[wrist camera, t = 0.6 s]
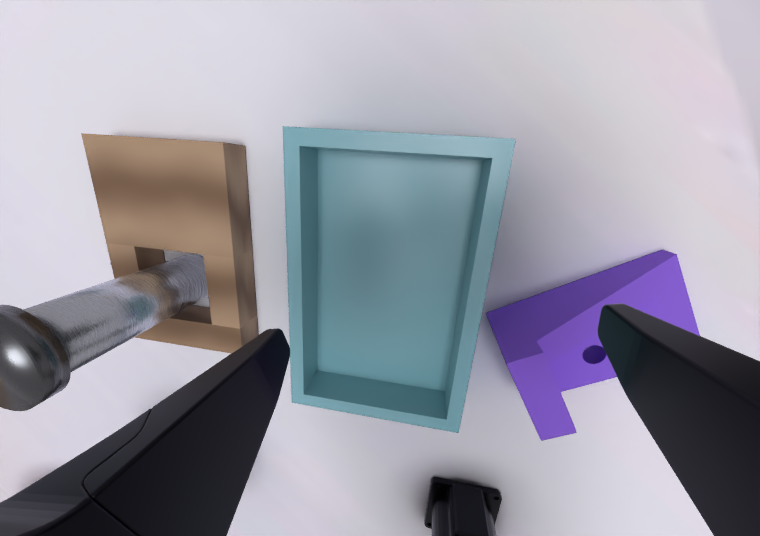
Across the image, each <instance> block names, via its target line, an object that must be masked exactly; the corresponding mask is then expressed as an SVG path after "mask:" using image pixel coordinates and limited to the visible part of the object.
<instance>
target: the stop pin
mask: <svg viewBox="0 0 760 536" xmlns="http://www.w3.org/2000/svg"><path fill="white" fill-rule="evenodd" d="M206 297H208V289H207V281H206V273H205V265H204V258H203V257H201V256H199V255H195V254H189V255H185V256H182V257H179V258H176V259H173V260H170V261H167V262H164V263H161V264H158V265H155V266H152V267H149V268H146V269H143V270H140V271H137V272H134V273H131V274H128V275H125V276H122V277H119V278H116V279H113V280H110V281H107V282H104V283H101V284H98V285H95V286H92V287H89V288H86V289H83V290H80V291H77V292H74V293H71V294H69V295H66V296H63V297H60V298H57V299H54V300H51V301H48V302H45V303H42V304H39V305H36V306H33V307H30V308H27V309H24V310H22V309H20V308H17V307H14V306H9V305H0V407H2V408H5V409H8V410H13V411H25V410H29V409H31V408H33V407H34V406H36V405H38V404H39V403H41V402H43V401H45V400H46V399H48V398H50V397H51V396H53V395H55V394H56V393H58V392H60V391H62V390H63V389H64V388H65V387H66V386H67V384H68V382H69V380H70V372H72V371H74V370H76V369H77V368H79V367H81V366H83V365H85V364H87V363H88V362H90V361H92V360H94V359H96V358H97V357H99V356H101V355H103V354H105V353H106V352H108V351H110V350H112V349H114V348H115V347H117V346H119V345H121V344H123V343H125V342H126V341H128V340H130V339H132V338H134V337H135V336H137V335H139V334H141V333H143V332H144V331H146V330H148V329H150V328H152V327H153V326H155V325H157V324H159V323H161V322H162V321H164V320H166V319H168V318H170V317H172V316H173V315H175V314H177V313H179V312H181V311H182V310H184V309H186V308H188V307H190V306H191V305H193V304H195V303H197V302H199V301H200V300H202V299H204V298H206Z"/></svg>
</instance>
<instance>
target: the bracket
mask: <svg viewBox="0 0 760 536" xmlns="http://www.w3.org/2000/svg"><path fill="white" fill-rule="evenodd" d="M619 303H622V304H626V305H628V306H630V307H633V308H635V309H637V310H640V311H642V312H645V313H647V314H649V315H652V316H654V317H656V318H659V319H661V320H663V321H666V322H668V323H670V324H673V325H675V326H677V327H680V328H682V329H685V330H687V331H689V332H692V333H694V334H696V335H699V331H698V328H697V324H696V321H695V317H694V314H693V310H692V307H691V303H690V300H689V296H688V293H687V289H686V286H685V282H684V279H683V275H682V272H681V268H680V265H679V261H678V258H677V254H674V253H671V252H668V251H665V250H660V251H657V252H655V253H652V254H649V255H646V256H643V257H641V258H638V259H635V260H632V261H629V262H627V263H624V264H621V265H618V266H616V267H613V268H610V269H607V270H604V271H602V272H599V273H596V274H593V275H591V276H588V277H585V278H582V279H579V280H577V281H574V282H571V283H568V284H565V285H563V286H560V287H557V288H554V289H552V290H549V291H546V292H543V293H540V294H538V295H535V296H532V297H529V298H527V299H524V300H521V301H518V302H515V303H513V304H510V305H507V306H504V307H501V308H499V309H496V310H493V311H490V312H488V313H486V314H487V317H488V319H489V322H490V324H491V327H492V329H493V332H494V334H495V337H496V339H497V342H498V344H499V347H500V349H501V352H502V354H503V357H504V359H505V362H506V364H507V367H508V369H509V371H510V373H511V375H512V378H513V380H514V382H515V384H516V386H517V389H518V391H519V393H520V395H521V397H522V400H523V402H524V404H525V406H526V408H527V411H528V413H529V415H530V417H531V419H532V422H533V424H534V426H535V428H536V430H537V433H538V435H539V437H540V439H541V441H542V440H546V439H551V438H555V437H560V436H564V435H569V434H573V433H576V429H575V426H574V424H573V422H572V419H571V417H570V414H569V412H568V410H567V407H566V405H565V402H564V400H563V398H562V395H561V393H560V392H562V391H566V390H569V389H573V388H577V387H581V386H585V385H588V384H592V383H596V382H600V381H603V380H607V379H611V378H615V377H617V375H616V373H615V371H614V369H613V367H612V365H611V363H610V361H609V359H608V356H607V354H606V352H605V350H604V348H603V346H602V344H601V342H600V340H599V337H598V324H599V319H600V314H601V309H602V307H603V306H604V305H606V304H619ZM699 336H700V335H699ZM589 346H591V347H590V348H588V349H586V348H587V347H589ZM585 349H586V350H585Z"/></svg>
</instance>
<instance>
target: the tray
mask: <svg viewBox="0 0 760 536" xmlns="http://www.w3.org/2000/svg"><path fill="white" fill-rule="evenodd" d="M515 141H516V139H508V138H489V137H470V136H452V135H433V134H415V133H396V132H378V131H359V130H341V129H322V128H304V127H285V126H283V150H284V181H285V211H286V242H287V272H288V303H289V333H290V364H291V394H292V403H298V404H303V405H309V406H314V407H319V408H325V409H330V410H336V411H341V412H347V413H352V414H358V415H363V416H369V417H374V418H380V419H385V420H391V421H396V422H401V423H407V424H412V425H418V426H423V427H429V428H434V429H440V430H445V431H451V432H456V433H459V428H460V423H461V418H462V412H463V407H464V402H465V397H466V392H467V387H468V382H469V377H470V371H471V366H472V361H473V356H474V351H475V346H476V341H477V336H478V330H479V325H480V320H481V315H482V310H483V305H484V300H485V295H486V290H487V284H488V279H489V274H490V269H491V264H492V259H493V254H494V249H495V243H496V238H497V233H498V228H499V223H500V218H501V213H502V208H503V202H504V197H505V192H506V187H507V182H508V177H509V172H510V167H511V162H512V156H513V151H514V146H515Z"/></svg>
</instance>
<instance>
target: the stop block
mask: <svg viewBox="0 0 760 536" xmlns="http://www.w3.org/2000/svg"><path fill="white" fill-rule="evenodd" d="M82 138H83V143H84V147H85V151H86V156H87V160H88V165H89V169H90V173H91V178H92V182H93V186H94V191H95V195H96V199H97V204H98V208H99V212H100V217H101V221H102V226H103V230H104V234H105V239H106V243H107V247H108V252H109V256H110V260H111V265H112V269H113V274H114V278H115V279H116V278H119V277H122V276H125V275H128V274H131V273H134V272H137V271H140V270H143V269H146V268H149V267H152V266H155V265H158V264H161V263H164V262H165V259H164V253H163V250H170V251H179V252H187V253H195V254H203V257H204V265H205V273H206V281H207V289H208V297H209V305H210V308H205V307H199V306H192V305H191V306H190V307H188V308H186V309H184V310H182V311H181V312H179V313H177V314H175V315H173V316H172V317H170V318H168V319H166V320H164V321H162V322H161V323H159V324H157V325H155V326H153V327H152V328H150V329H148V330H146V331H144V332H143V333H141V334H139V335H137V336H135V338H142V339H148V340H154V341H160V342H166V343H172V344H178V345H184V346H190V347H196V348H202V349H208V350H214V351H221V352H227V353H233V352H235V351H236V350H238V349H239V348H241V347H242V346H244V345H245V344H247V343H248V342H249V341H251V340H252V339H254V338H255V337H257V336H258V322H257V308H256V294H255V280H254V266H253V251H252V237H251V223H250V209H249V195H248V181H247V166H246V152H245V146H243V145H236V144H230V143H223V142H207V141H192V140H176V139H160V138H144V137H128V136H113V135H97V134H82Z"/></svg>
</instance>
